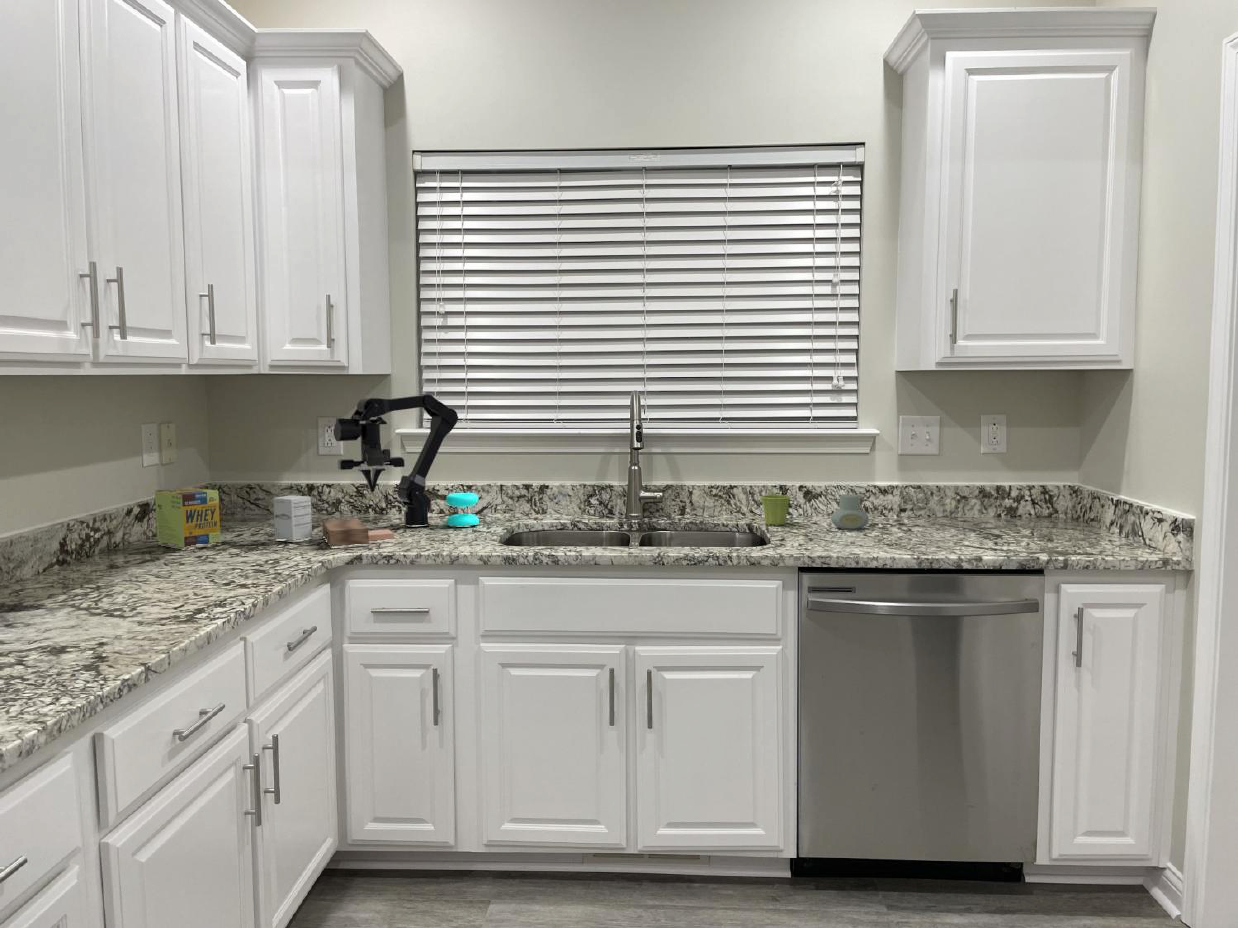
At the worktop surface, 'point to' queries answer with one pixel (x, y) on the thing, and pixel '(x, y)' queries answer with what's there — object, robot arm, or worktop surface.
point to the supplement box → (292, 517)
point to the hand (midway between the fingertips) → (372, 491)
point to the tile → (380, 534)
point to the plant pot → (775, 508)
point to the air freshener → (850, 513)
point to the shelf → (345, 532)
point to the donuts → (462, 501)
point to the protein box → (187, 516)
